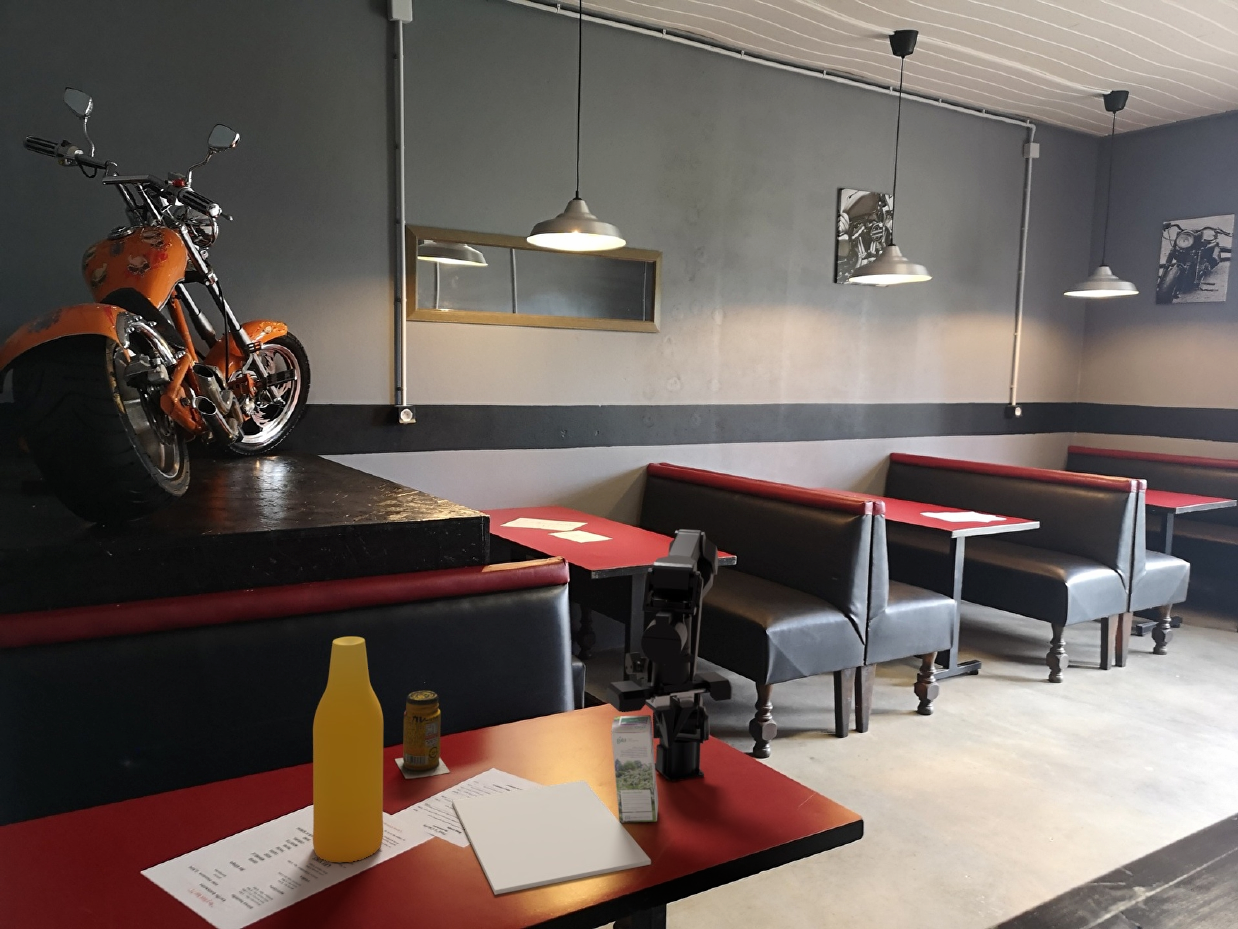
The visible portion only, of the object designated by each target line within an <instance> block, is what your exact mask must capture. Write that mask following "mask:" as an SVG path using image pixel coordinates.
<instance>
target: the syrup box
mask: <svg viewBox="0 0 1238 929" xmlns="http://www.w3.org/2000/svg"><path fill="white" fill-rule="evenodd" d="M610 732H611V746H612V754H613V766H614V778H615V788H616V791H615V792H616V798H617V800H616V801H617V811H618V812H617V813H618V821H619V822H620V823H621V824H623V823H648V822H649V823H651V822H653V823H654V822H657V821H658V809H659V808H658V807H659V796H658V787H657V777H656V768H655V763H656V760H655V750H654V749H655V748H654V738H653V720H652V716H651V715H650V714H644V715H643V714H642V715H641V714H640V715H623V716H614V718H613V721H612V725H611V731H610Z"/></svg>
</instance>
